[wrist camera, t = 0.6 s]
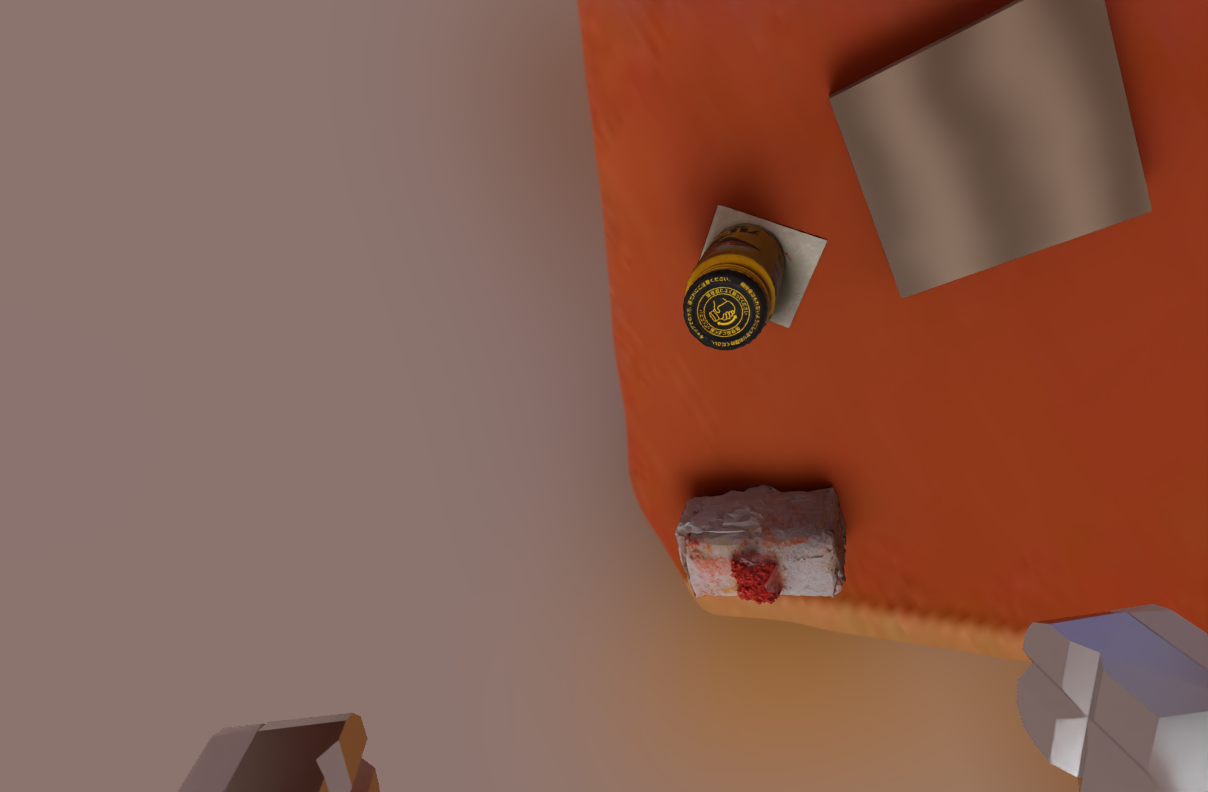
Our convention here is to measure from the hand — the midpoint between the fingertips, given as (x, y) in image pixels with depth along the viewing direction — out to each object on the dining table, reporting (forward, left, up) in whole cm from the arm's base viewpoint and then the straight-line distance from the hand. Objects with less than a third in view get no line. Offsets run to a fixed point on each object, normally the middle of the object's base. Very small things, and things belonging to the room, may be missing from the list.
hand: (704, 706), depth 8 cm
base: (-10, +4, -45) cm, 46 cm away
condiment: (+6, +6, -45) cm, 46 cm away
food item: (+14, +28, -45) cm, 55 cm away
